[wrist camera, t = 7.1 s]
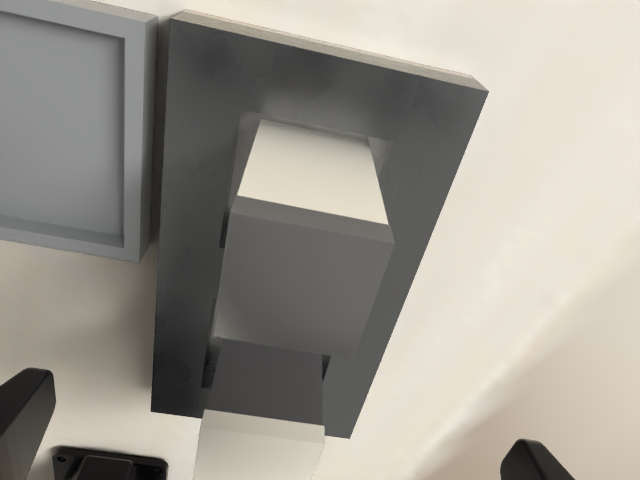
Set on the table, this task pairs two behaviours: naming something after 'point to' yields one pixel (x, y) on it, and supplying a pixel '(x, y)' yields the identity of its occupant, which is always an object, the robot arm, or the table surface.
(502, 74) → the table surface
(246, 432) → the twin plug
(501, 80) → the table surface
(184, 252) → the board
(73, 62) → the tray
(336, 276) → the plug
